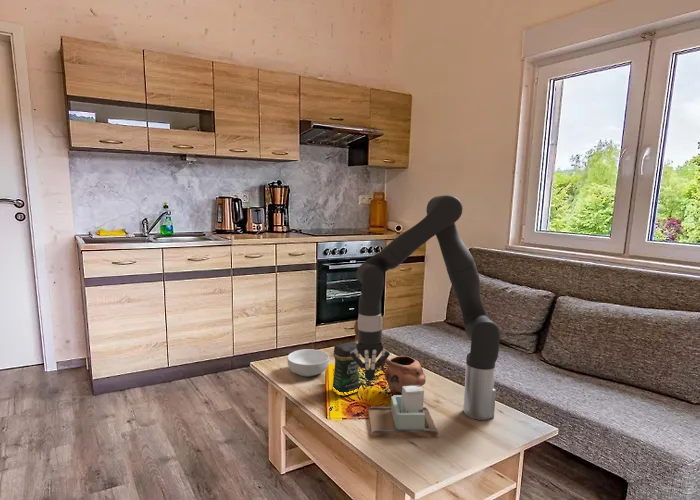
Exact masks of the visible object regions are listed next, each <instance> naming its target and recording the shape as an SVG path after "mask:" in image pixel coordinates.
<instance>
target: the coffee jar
mask: <svg viewBox="0 0 700 500" xmlns="http://www.w3.org/2000/svg"><path fill="white" fill-rule="evenodd" d="M356 346H357V343H355V341H354V340H352V341H349V342H346V343H345V342H344V343H340V344H335V345H334V347H333V357H334V371H333V378H332V379H333V380H332V388H333V387H334V388H335V389H336V390H338V391H339V392H343V393H344V392H349V391H352V390H355V389H357V388H358V387H359V388H360V379H359V378H360V377H359V365H358V364H357V363H356V362H355V360H354V359H353V358H352V357H351V355H350V352H351V351H353V350H355V349H356ZM359 356H360V353H359V352H358V357H359ZM359 358H360V357H359Z"/></svg>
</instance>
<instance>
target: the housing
mask: <svg viewBox="0 0 700 500" xmlns="http://www.w3.org/2000/svg"><path fill="white" fill-rule="evenodd" d="M401 403H402V395H393V396H392V395H391V396H390V407H391V412H392V416H393V420H394V424H395V428H396V429H398V430H424V428H425V425H426V423H425V414H424V413H400V411H401Z"/></svg>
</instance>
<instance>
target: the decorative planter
mask: <svg viewBox="0 0 700 500" xmlns="http://www.w3.org/2000/svg"><path fill="white" fill-rule="evenodd" d="M385 365H387V367H386V369H385ZM380 370H381V371H382V373H383V374H384V378H385V380H386V382H387V385H388V387H389V392H390V395H391V394H392V395H402V386H420V387H422V386H424V385H425V384H426V382H427V380H426V375H425V372H424V369H423V367H422V365H421V363H420V362H419V361H418V360H417V359H415V358H413V357H411V356H406V355H398V356H393V357H392V358H387V359H386V360H385V361H384V363H383V364H382V365H381V366H380ZM392 395H391V396H392Z"/></svg>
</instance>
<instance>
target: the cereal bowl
mask: <svg viewBox="0 0 700 500" xmlns="http://www.w3.org/2000/svg"><path fill="white" fill-rule="evenodd" d="M329 363H330V355H329V354H328V353H327V352H325V351H322V350H318V349H309V348H305V349H304V348H303V349H298V350H294V351H293V352H291V353H289V354H288V355H287V366H288V368H289V370H291V372H293V373H294V374H297V375H299V376H301V377H314V376H316V375H319V374H321V373H323V372H325V371H326V370H327V368H328V366H329Z"/></svg>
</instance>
